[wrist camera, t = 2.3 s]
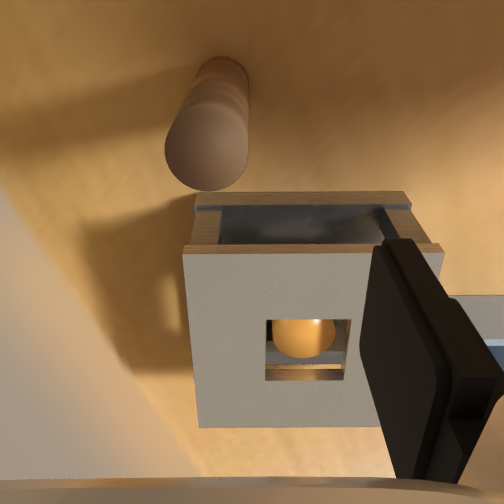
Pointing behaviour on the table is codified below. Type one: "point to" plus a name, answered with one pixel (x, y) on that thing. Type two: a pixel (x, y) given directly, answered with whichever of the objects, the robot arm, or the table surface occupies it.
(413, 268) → the robot arm
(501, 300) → the pen holder
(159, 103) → the table surface
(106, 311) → the table surface
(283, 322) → the button
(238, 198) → the box
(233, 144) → the dowel
